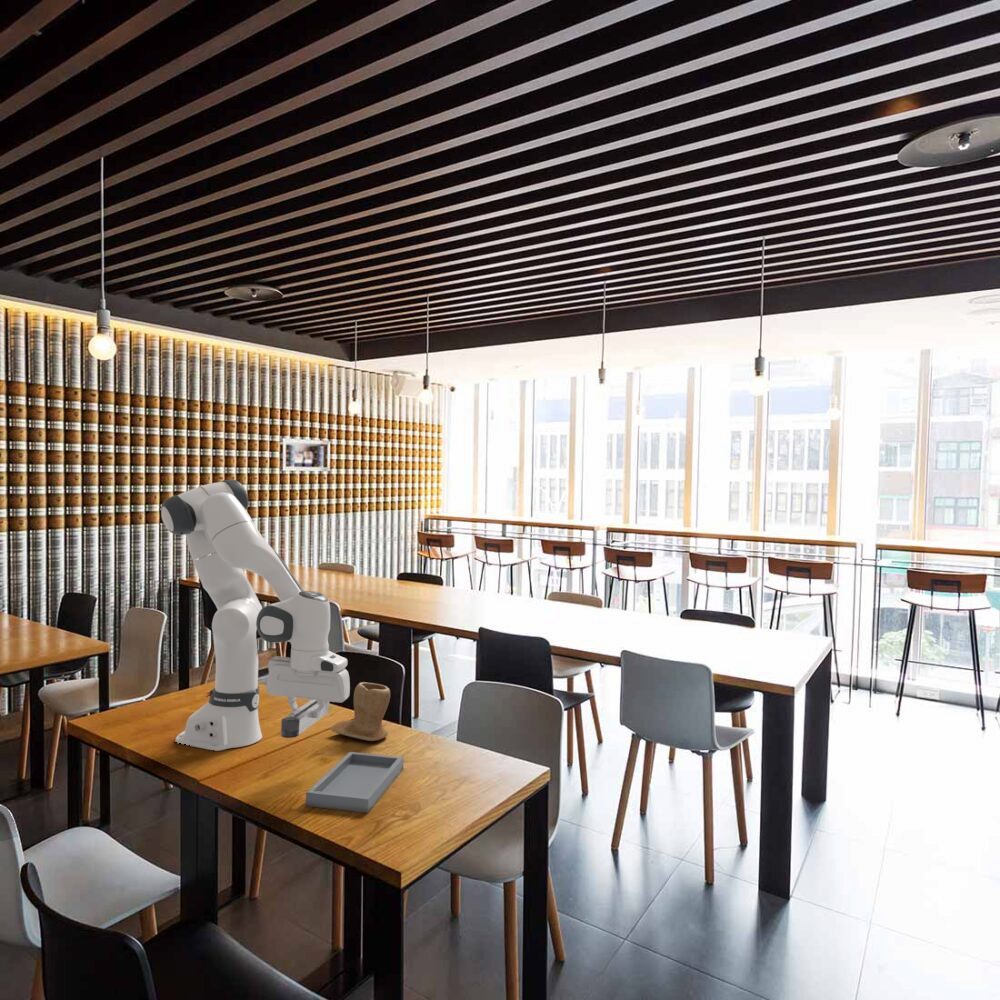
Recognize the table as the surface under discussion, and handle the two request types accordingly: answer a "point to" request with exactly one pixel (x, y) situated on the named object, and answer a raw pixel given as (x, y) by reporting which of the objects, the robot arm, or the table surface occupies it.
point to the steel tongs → (301, 719)
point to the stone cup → (366, 713)
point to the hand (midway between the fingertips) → (306, 716)
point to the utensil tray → (355, 782)
